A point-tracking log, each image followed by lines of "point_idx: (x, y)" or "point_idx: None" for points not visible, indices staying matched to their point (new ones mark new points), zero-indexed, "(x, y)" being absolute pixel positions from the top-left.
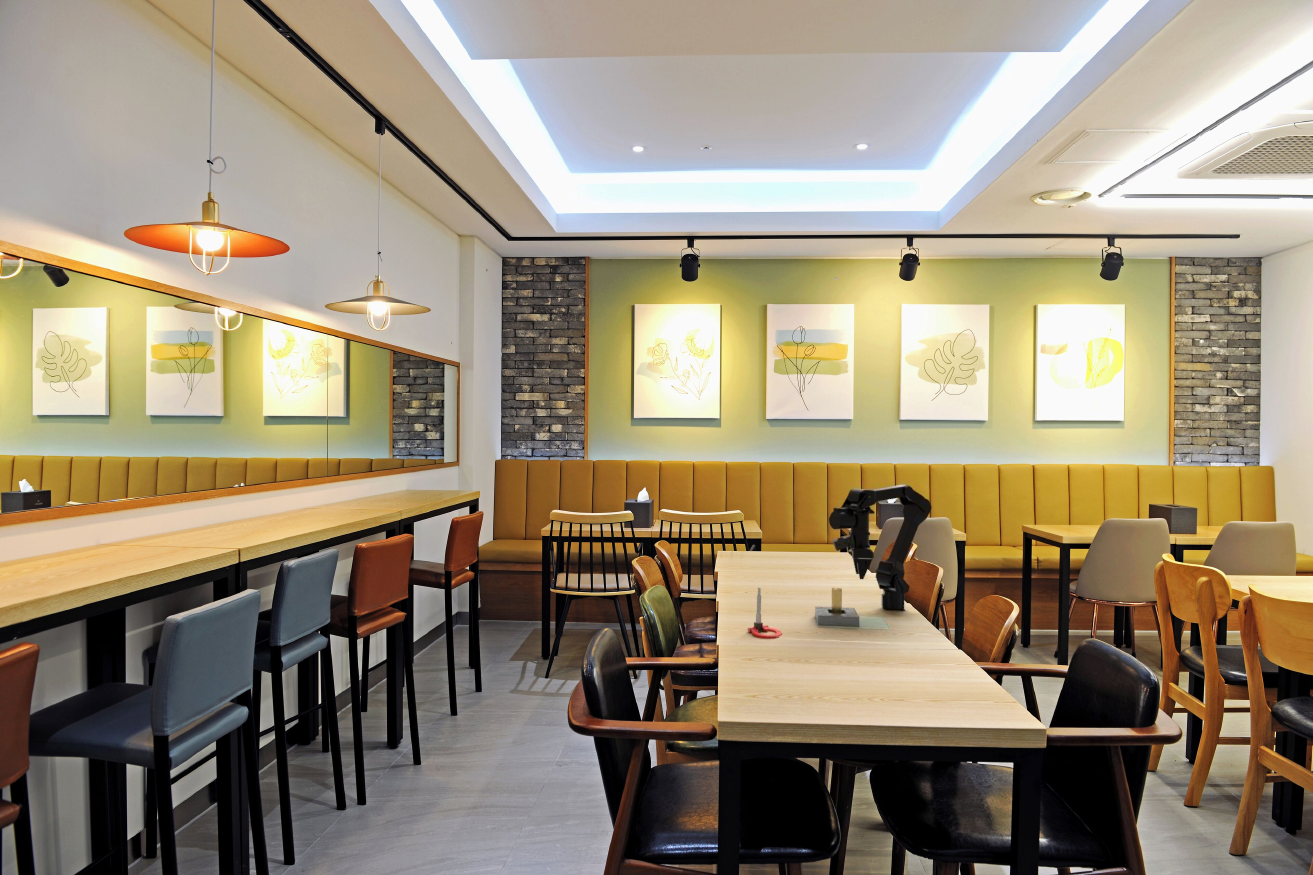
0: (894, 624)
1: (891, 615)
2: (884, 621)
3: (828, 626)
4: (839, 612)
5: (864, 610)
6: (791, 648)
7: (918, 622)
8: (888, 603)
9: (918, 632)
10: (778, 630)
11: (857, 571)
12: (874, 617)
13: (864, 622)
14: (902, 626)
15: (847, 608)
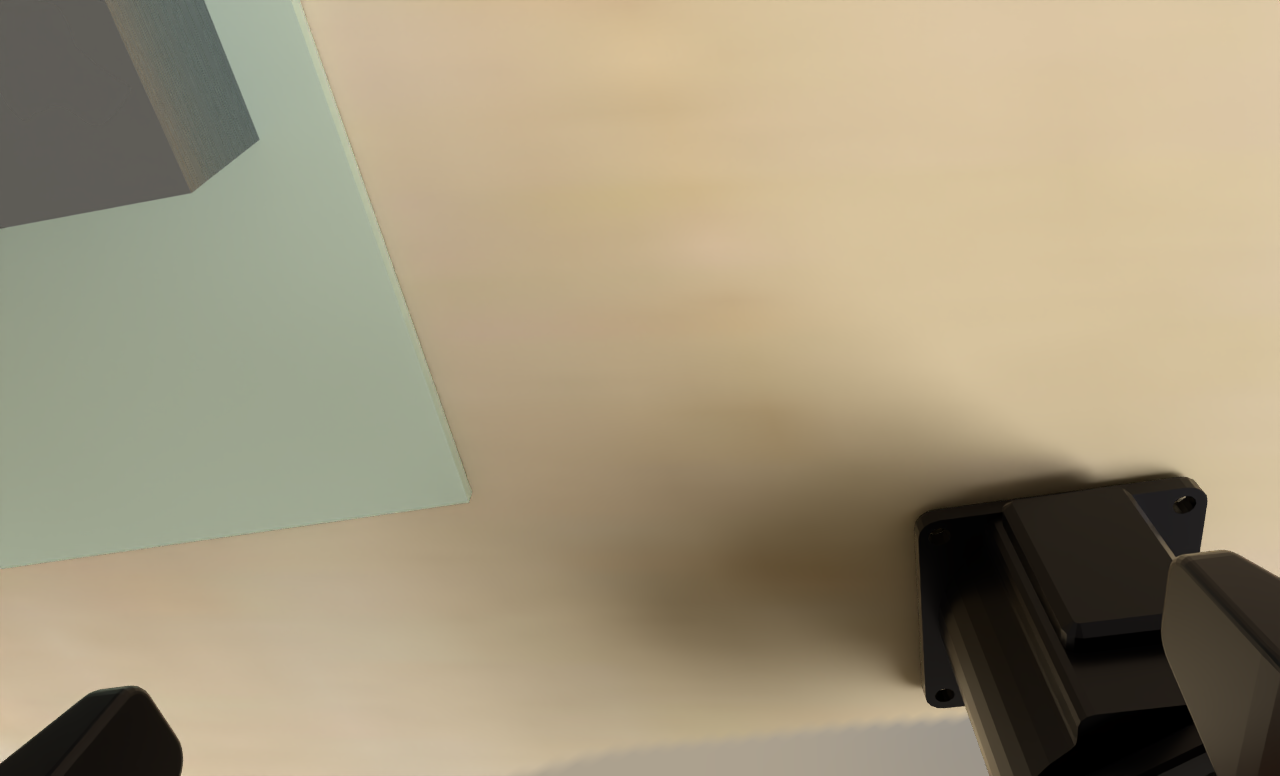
0: (241, 594)
1: (698, 568)
2: (254, 516)
3: None
4: None
5: (918, 254)
6: None
7: (464, 770)
8: (995, 609)
9: None
10: None
11: (1217, 660)
12: (413, 408)
13: (31, 298)
14: (197, 657)
15: (53, 67)
